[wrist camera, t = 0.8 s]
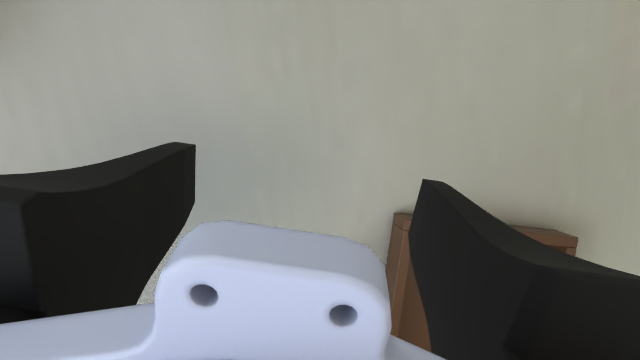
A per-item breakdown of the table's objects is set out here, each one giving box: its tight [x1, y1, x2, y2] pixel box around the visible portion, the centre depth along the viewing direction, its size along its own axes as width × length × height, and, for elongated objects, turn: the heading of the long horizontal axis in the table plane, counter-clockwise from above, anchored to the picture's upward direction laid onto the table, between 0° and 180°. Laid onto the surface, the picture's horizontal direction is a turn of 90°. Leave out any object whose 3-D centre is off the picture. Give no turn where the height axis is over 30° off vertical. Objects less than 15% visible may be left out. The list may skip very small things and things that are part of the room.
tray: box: [385, 213, 578, 352], centre depth 33 cm, size 19×14×2 cm
